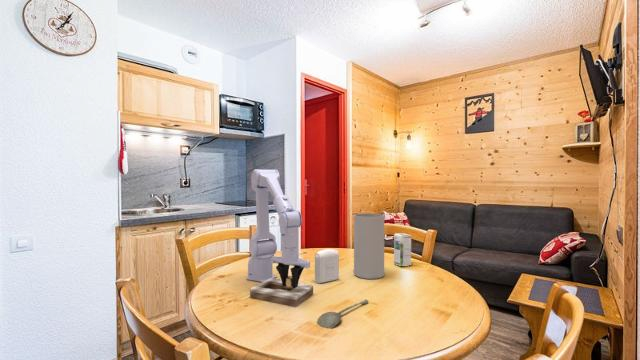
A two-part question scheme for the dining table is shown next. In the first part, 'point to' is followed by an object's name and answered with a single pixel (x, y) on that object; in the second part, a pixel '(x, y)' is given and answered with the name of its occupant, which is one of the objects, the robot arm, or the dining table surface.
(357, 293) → the dining table surface
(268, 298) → the keyhole board
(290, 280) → the brass key peg
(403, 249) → the drink can
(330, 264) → the photo printer
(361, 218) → the cylinder vase
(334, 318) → the soupspoon
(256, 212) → the robot arm
